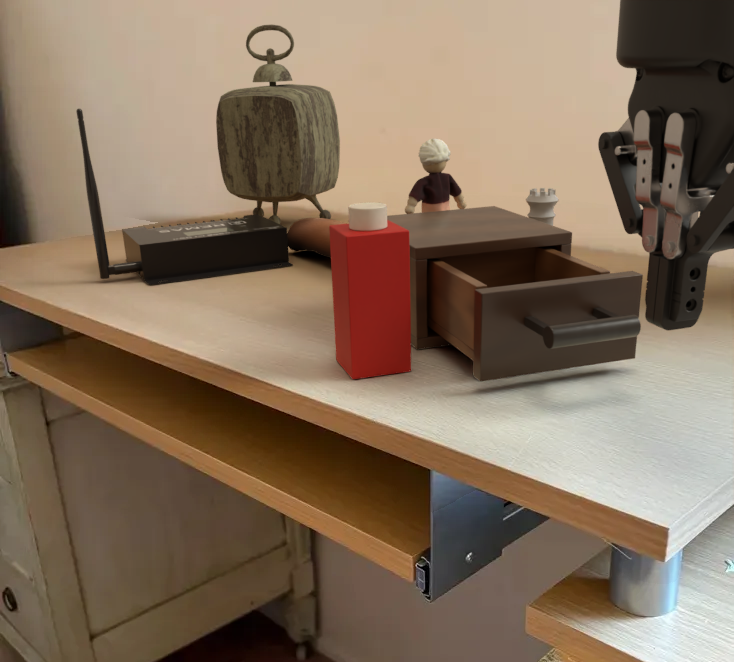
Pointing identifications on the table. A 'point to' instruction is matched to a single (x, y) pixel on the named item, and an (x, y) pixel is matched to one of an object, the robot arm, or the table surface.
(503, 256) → the drawer
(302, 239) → the sunglasses case
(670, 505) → the table surface
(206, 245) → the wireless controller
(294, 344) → the table surface
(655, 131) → the robot arm
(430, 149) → the grandmother figurine
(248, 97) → the tabletop clock
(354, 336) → the ketchup bottle
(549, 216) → the rook chess piece
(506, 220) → the cabinet
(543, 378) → the table surface
